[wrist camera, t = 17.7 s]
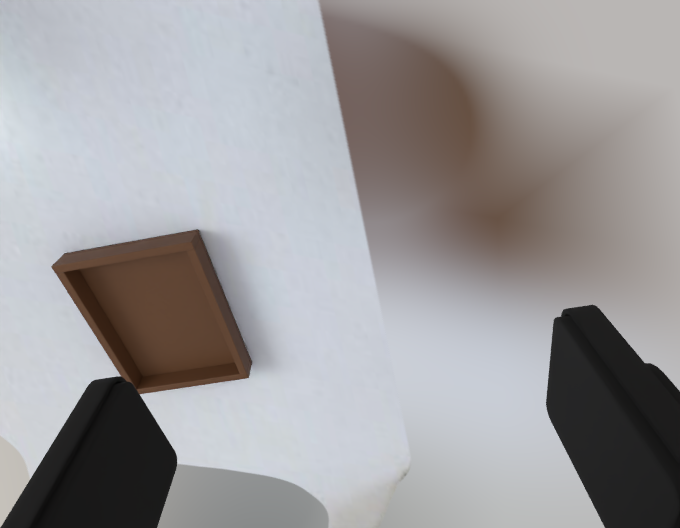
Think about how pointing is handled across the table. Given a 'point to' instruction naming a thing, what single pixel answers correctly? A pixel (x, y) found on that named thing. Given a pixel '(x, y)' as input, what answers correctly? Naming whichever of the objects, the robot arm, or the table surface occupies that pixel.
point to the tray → (157, 311)
